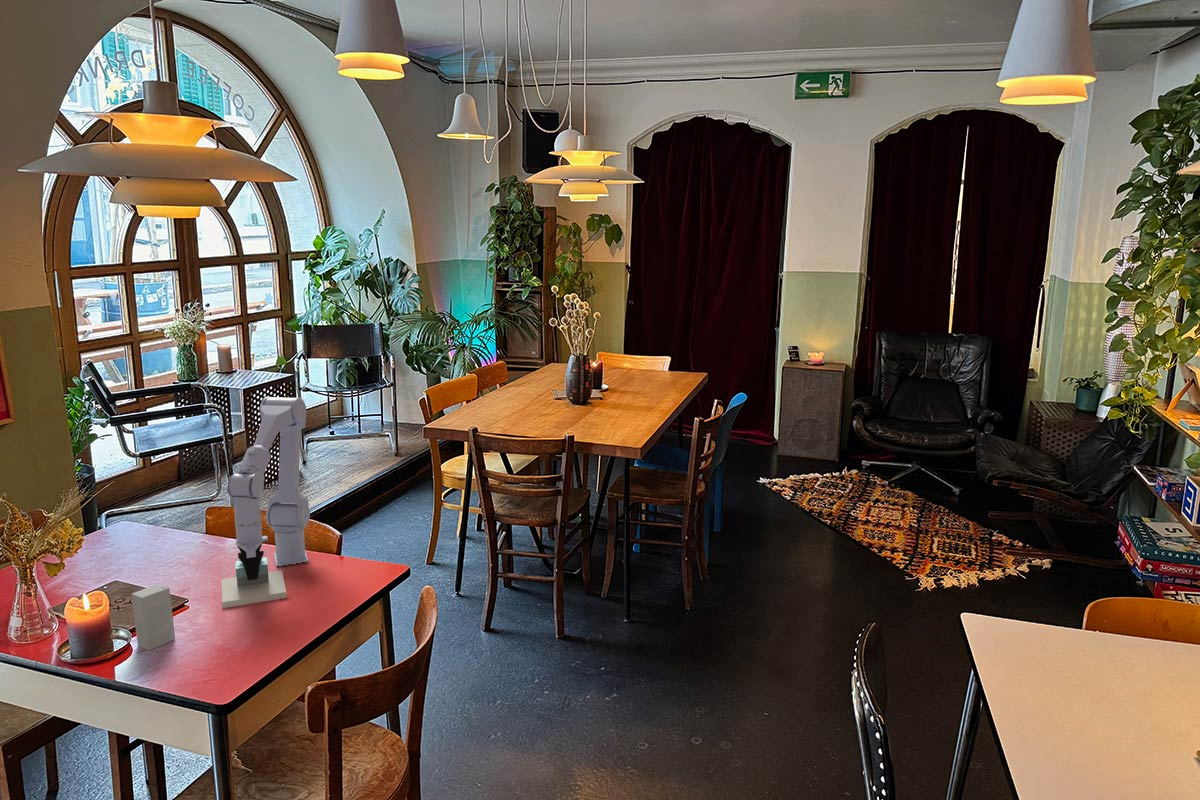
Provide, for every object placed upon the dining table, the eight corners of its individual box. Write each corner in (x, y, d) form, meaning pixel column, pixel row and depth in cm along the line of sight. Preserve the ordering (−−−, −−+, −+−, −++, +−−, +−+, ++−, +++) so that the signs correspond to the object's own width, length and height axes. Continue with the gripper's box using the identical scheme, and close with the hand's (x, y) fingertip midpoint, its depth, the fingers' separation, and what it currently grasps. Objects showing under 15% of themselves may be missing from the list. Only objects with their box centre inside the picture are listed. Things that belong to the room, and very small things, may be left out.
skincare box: (164, 634, 177) (158, 582, 174) (175, 639, 175) (170, 587, 172) (136, 646, 172) (130, 593, 169) (147, 651, 169) (142, 598, 167)
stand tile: (221, 585, 202) (221, 579, 201) (282, 575, 207) (281, 570, 207) (222, 608, 189) (222, 602, 189) (286, 597, 195) (286, 591, 195)
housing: (237, 580, 198) (235, 559, 197) (267, 575, 201) (266, 555, 200) (237, 587, 194) (235, 566, 193) (268, 582, 197) (267, 561, 196)
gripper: (267, 529, 190) (271, 583, 193) (264, 510, 203) (268, 561, 206) (234, 533, 187) (239, 588, 190) (233, 514, 200) (238, 566, 203)
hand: (252, 575), depth 197 cm, fingers closed on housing, 5 cm apart
